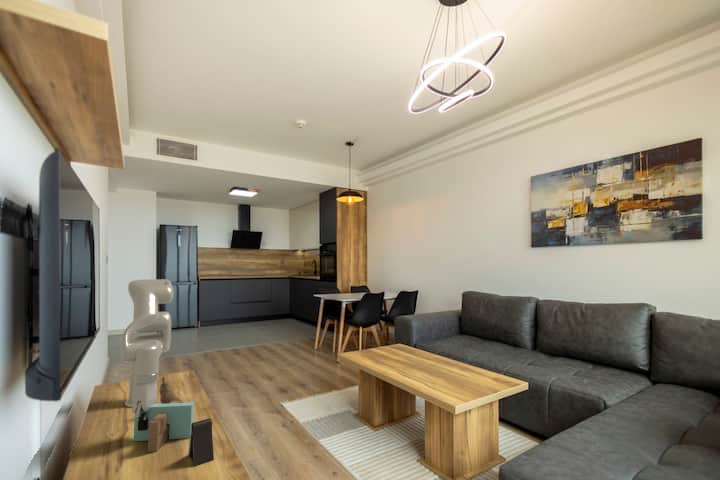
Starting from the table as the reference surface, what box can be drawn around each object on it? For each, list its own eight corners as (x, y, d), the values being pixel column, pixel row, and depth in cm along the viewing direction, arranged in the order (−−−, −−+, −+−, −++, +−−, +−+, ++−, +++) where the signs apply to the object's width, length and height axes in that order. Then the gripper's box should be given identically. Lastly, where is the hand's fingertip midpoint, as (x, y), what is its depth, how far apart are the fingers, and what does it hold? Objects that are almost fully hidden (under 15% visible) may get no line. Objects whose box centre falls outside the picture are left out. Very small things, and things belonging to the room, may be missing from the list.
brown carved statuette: (158, 424, 147) (149, 384, 146) (157, 419, 152) (149, 380, 151) (188, 412, 154) (180, 373, 153) (187, 407, 158) (179, 370, 157)
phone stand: (213, 460, 116) (214, 423, 117) (194, 466, 112) (195, 428, 113) (206, 448, 123) (207, 414, 124) (188, 454, 119) (189, 418, 120)
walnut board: (171, 425, 140) (171, 400, 141) (178, 425, 141) (179, 400, 142) (147, 452, 121) (149, 422, 121) (157, 451, 121) (158, 422, 122)
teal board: (137, 437, 131) (139, 404, 132) (192, 434, 133) (194, 402, 134) (133, 441, 128) (135, 407, 129) (190, 438, 130) (191, 405, 131)
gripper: (146, 371, 139) (144, 419, 138) (124, 386, 123) (122, 439, 121) (166, 371, 140) (164, 417, 139) (147, 384, 124) (145, 437, 122)
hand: (145, 427), depth 130 cm, fingers closed on teal board, 3 cm apart
